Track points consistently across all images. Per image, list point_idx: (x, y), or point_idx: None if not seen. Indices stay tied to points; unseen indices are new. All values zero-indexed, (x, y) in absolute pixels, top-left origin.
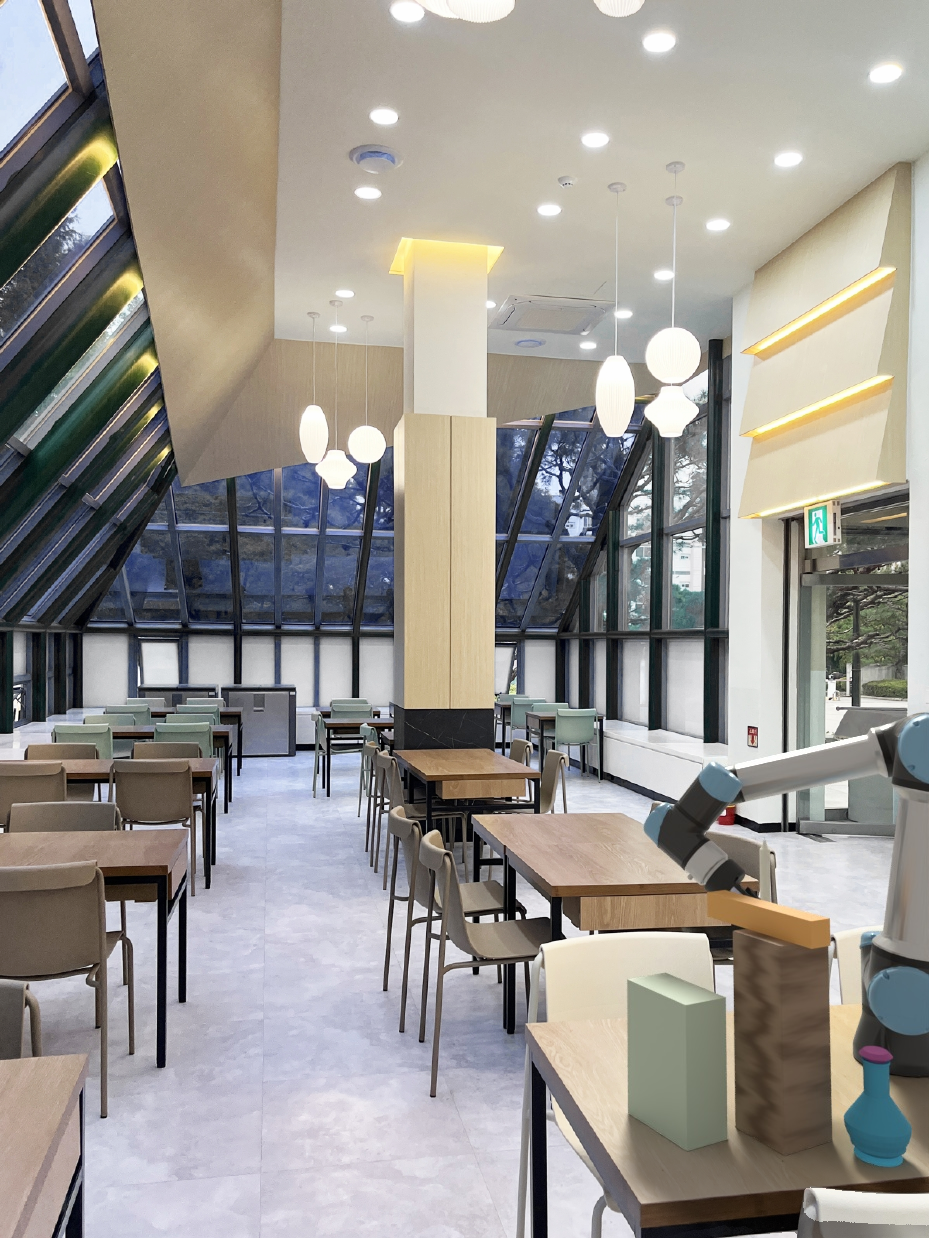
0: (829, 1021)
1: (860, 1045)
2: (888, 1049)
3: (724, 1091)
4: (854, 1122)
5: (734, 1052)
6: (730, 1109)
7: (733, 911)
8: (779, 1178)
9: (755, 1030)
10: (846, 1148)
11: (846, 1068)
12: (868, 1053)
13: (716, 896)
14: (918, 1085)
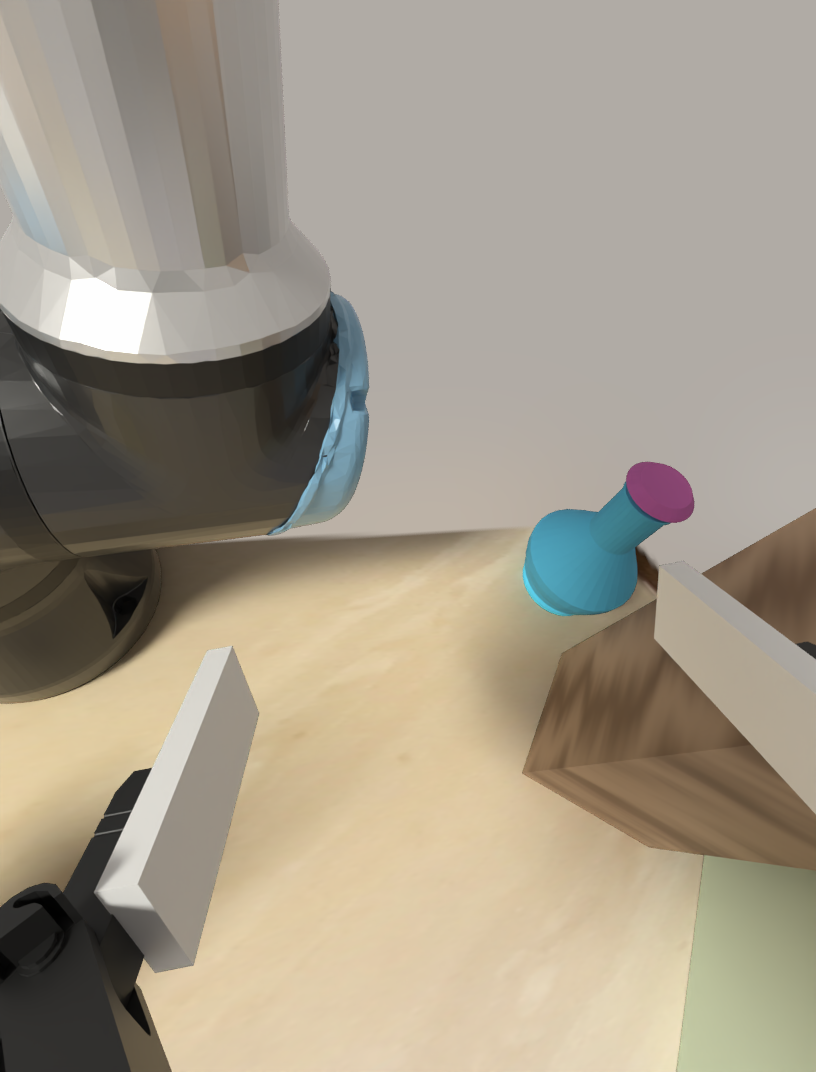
0: (722, 562)
1: (81, 660)
2: (129, 581)
3: None
4: (633, 585)
5: (790, 866)
6: (580, 897)
7: None
8: None
9: None
10: (571, 627)
11: (160, 698)
12: (691, 498)
13: None
14: (202, 543)
